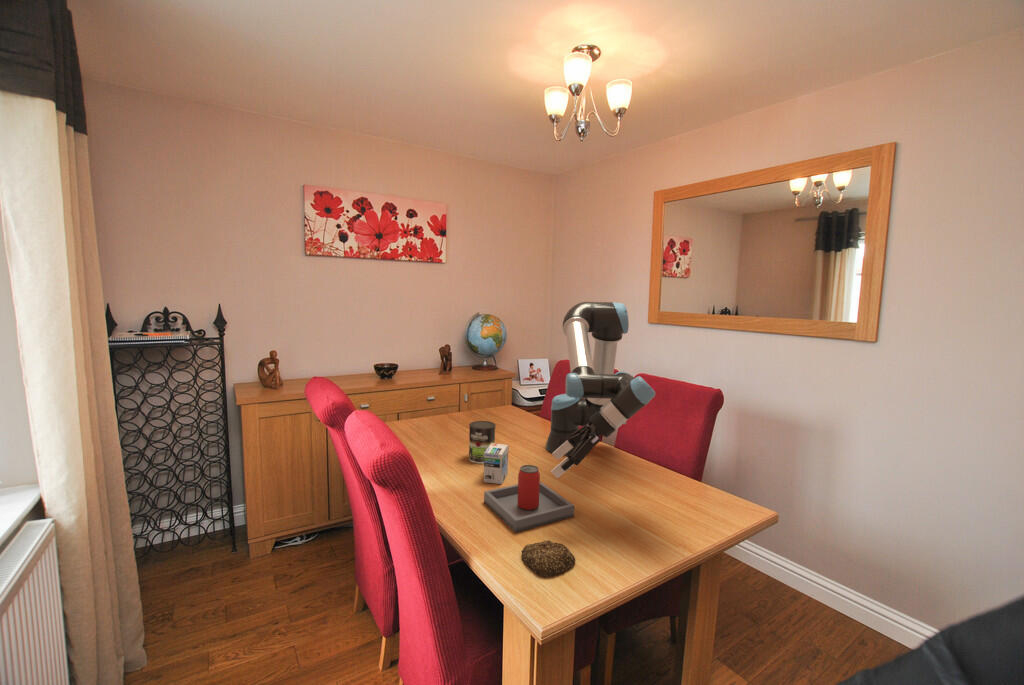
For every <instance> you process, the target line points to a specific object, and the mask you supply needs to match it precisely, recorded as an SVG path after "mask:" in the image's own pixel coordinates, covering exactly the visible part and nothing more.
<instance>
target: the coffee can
mask: <svg viewBox="0 0 1024 685" xmlns="http://www.w3.org/2000/svg"><path fill="white" fill-rule="evenodd" d="M468 436H469V442H468V446H469V447H468V449H469V450H468V460H469V462H471V463H473V464H478V465H484V452H485V451H486V450H487V448H488V447H489V446H490V444H491V443H495V444H496V423H494V422H492V421H489V420H475V421H472V422H469V434H468Z"/></svg>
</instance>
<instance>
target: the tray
mask: <svg viewBox="0 0 1024 685" xmlns="http://www.w3.org/2000/svg"><path fill="white" fill-rule="evenodd" d="M483 503H484V504H485V503H486V504H485V505H486V506H487V507H488V508H489V509H490V510H491V511H492V512H493V513H495V514H496V516H498V517H499V518H500V519H501V520H502V521H503V522H504V523H505V524H506V525H507V526H508V527H509V528H510V529H511V530H512V531H513V532H514V533H516V534H517V533H520V532H523V531H527V530H530V529H534V528H537V527H542V526H546V525H549V524H552V523H555V522H559V521H563V520H566V519H570V518H573V517H575V505H574V504H573V503H572V502H571V501H569V500H568V499H566V498H565V497H563V496H562V495H560V494H559V493H558V492H556V491H555V490H554V489H552V488H551V487H549V486H548V485H546V484H545V483H544V482H541V481H540V488H539V506H538V508H536V509H534V510H523V509H521V508H520V507H519V506H518V504H517V503H518V483H517V484H513V485H508V486H503V487H499V488H494V489H490V490H485V491H484V492H483Z"/></svg>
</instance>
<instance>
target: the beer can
mask: <svg viewBox="0 0 1024 685" xmlns="http://www.w3.org/2000/svg"><path fill="white" fill-rule="evenodd" d="M517 478H518V479H517V484H518V503H517V504H518V506H519V507H520V508H521V509H523V510H534V509H536V508H538V506H539V488H540V482H541V480H540V479H541V475H540V470H539V468H538V466H536V465H534V464H525V465H524V464H523V465H521V466H520V469H519V472H518V477H517Z"/></svg>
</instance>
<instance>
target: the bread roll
mask: <svg viewBox="0 0 1024 685" xmlns="http://www.w3.org/2000/svg"><path fill="white" fill-rule="evenodd" d="M521 556H522V561H523V562H524V563H525V565H527V567H528V568H529V569H531V570H532V571H533V572H535V574H536V575H538V576H540V577H543V578H547V577H555V576H559V575H562V574H565V572H567V571H568V570H570V569H572V568H573V567H574V566H575V563H576V558H575V555H574V554H573V553H572V552H571V550H570V549H569V548H568V547H567V546H566V545H565V544H563V543H560V542H553V541H552V540H544V541H542V542H541V541H538V542H535V543H528V544H526V545H525V546H524V547H523V548H522V549H521Z"/></svg>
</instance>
